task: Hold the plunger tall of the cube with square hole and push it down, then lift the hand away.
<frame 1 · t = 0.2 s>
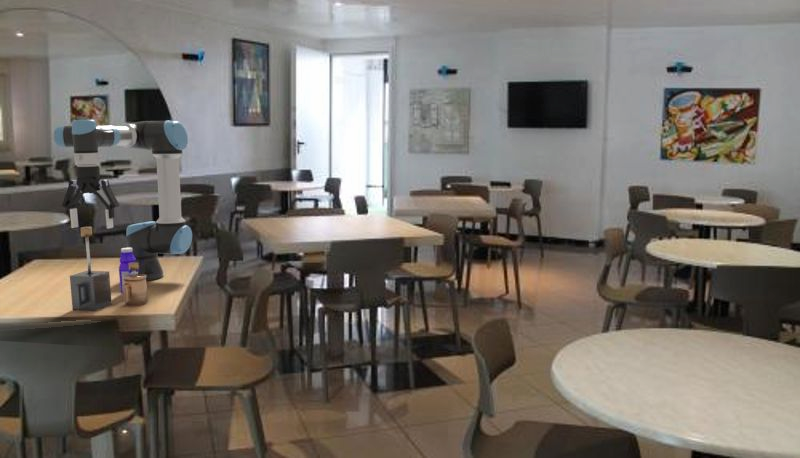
hand: (92, 227, 242), 28 cm above the table, fingers open, 13 cm apart
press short: (136, 303, 252), on the table
cube with square hole: (92, 307, 247), on the table
plunger tall: (88, 254, 244), point 19 cm above the table, slide at 0.0 cm
bottle: (130, 294, 267), on the table
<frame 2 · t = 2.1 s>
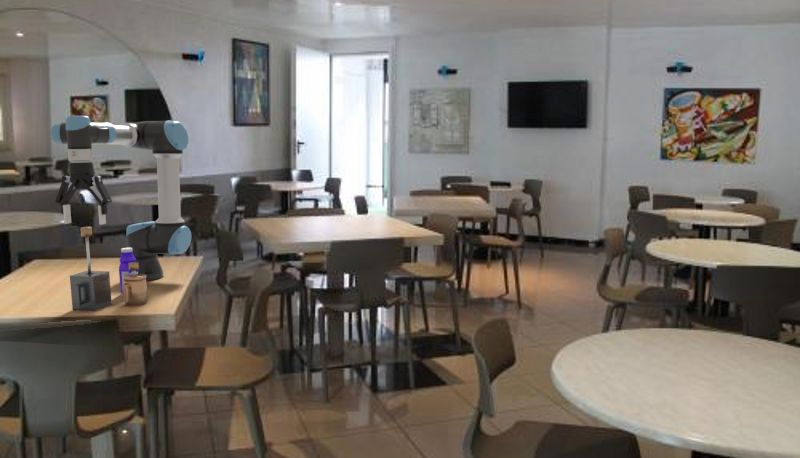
hand: (85, 223, 242), 29 cm above the table, fingers open, 13 cm apart
nothing on the table moved.
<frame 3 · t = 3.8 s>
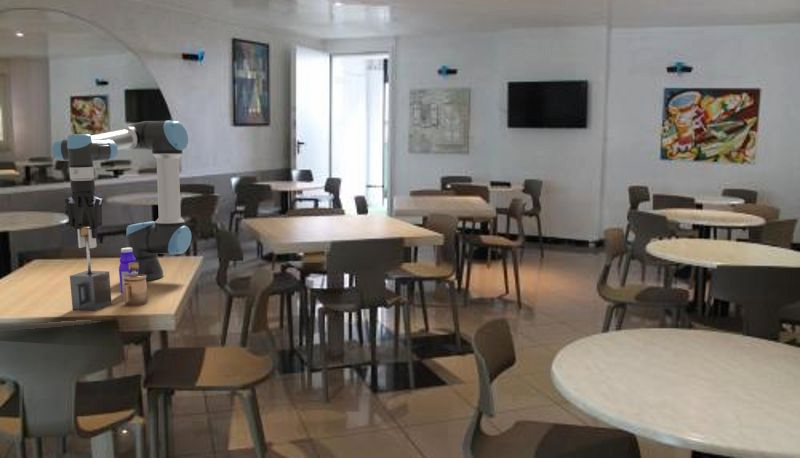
hand: (87, 247, 244), 21 cm above the table, fingers closed on plunger tall, 4 cm apart
plunger tall: (88, 254, 244), point 19 cm above the table, slide at 0.0 cm, touching gripper
everything else where it was.
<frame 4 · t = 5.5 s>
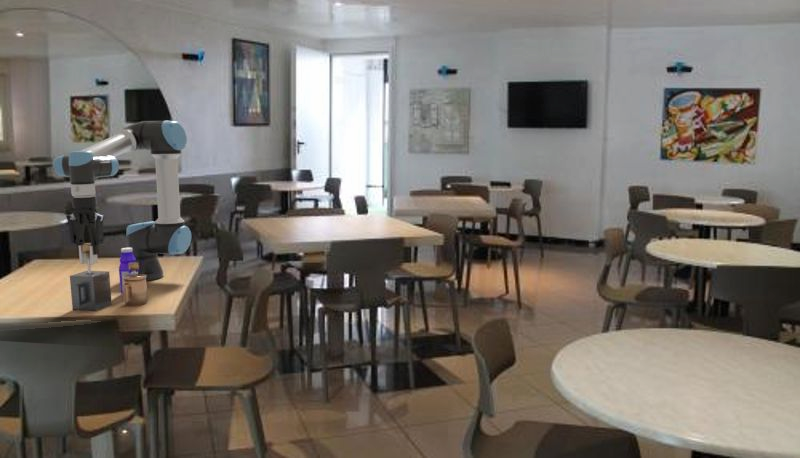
hand: (88, 263, 245), 16 cm above the table, fingers closed on plunger tall, 4 cm apart
plunger tall: (89, 270, 245), point 13 cm above the table, slide at 5.7 cm, touching gripper
everything else where it was.
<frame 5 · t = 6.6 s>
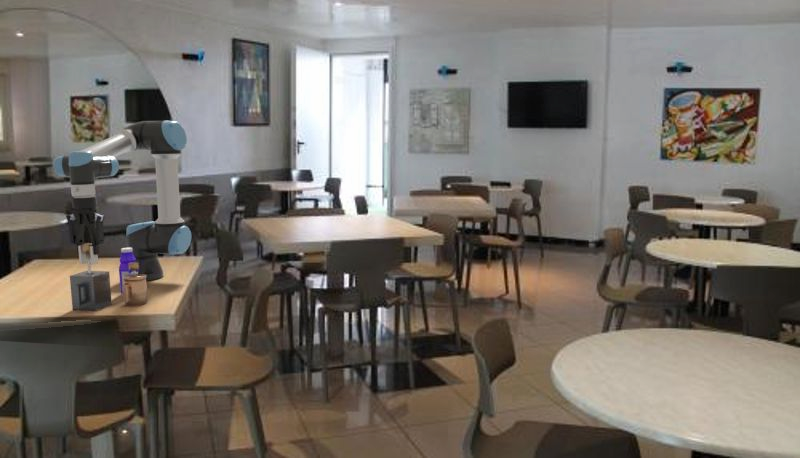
hand: (88, 263, 245), 16 cm above the table, fingers open, 4 cm apart
plunger tall: (89, 271, 245), point 13 cm above the table, slide at 5.8 cm
everything else where it was.
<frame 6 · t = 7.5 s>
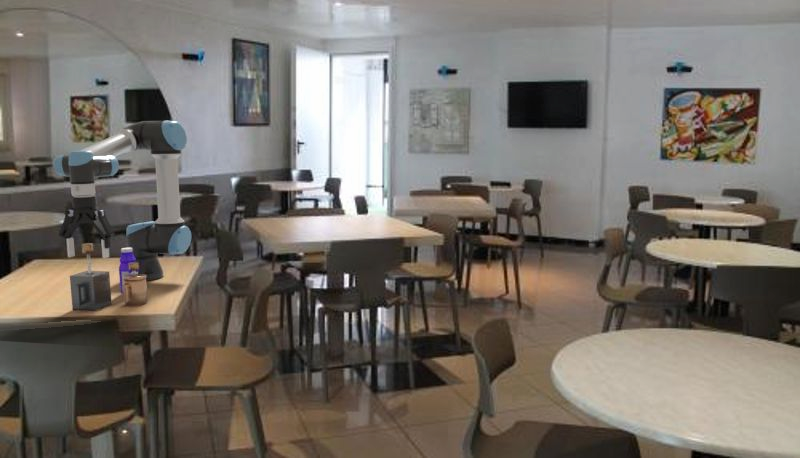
hand: (88, 257, 244), 18 cm above the table, fingers open, 13 cm apart
nothing on the table moved.
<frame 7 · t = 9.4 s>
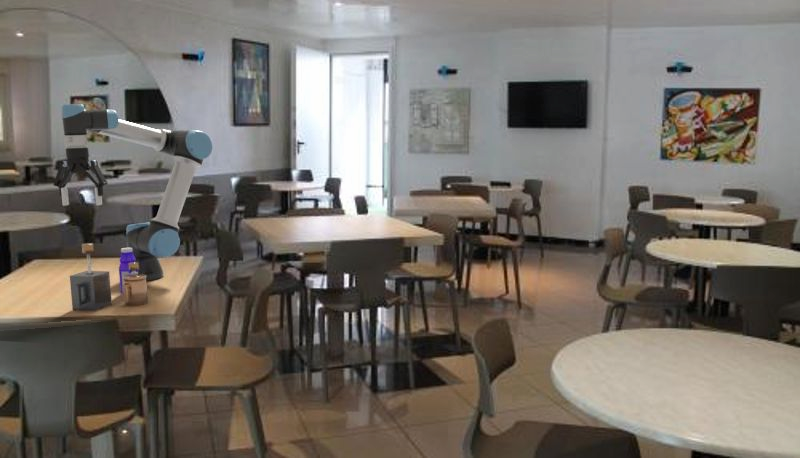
hand: (82, 205, 260), 34 cm above the table, fingers open, 13 cm apart
nothing on the table moved.
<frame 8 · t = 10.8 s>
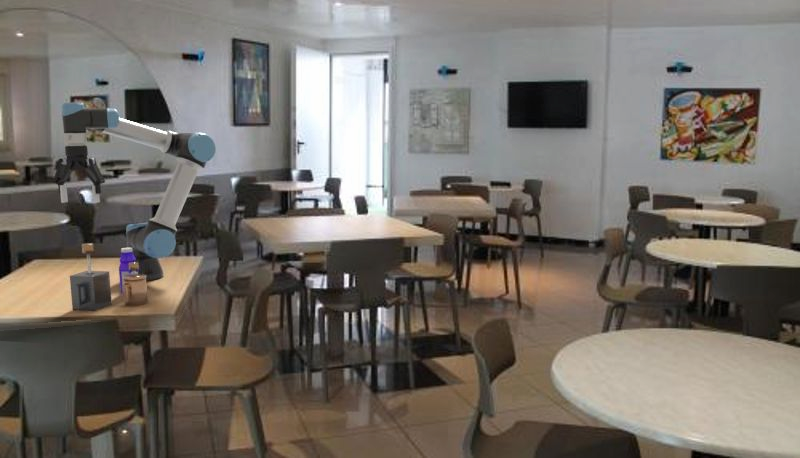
hand: (80, 202, 262), 35 cm above the table, fingers open, 13 cm apart
nothing on the table moved.
at the end: plunger tall slide at 5.8 cm; the gripper is holding nothing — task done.
